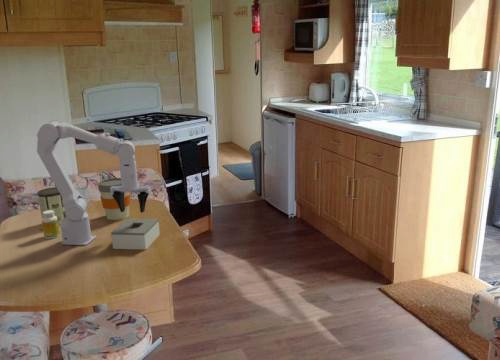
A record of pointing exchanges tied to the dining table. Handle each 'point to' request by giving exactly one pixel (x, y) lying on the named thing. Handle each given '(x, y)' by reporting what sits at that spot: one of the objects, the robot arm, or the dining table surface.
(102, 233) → the dining table surface
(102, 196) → the reusable coffee cup
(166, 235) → the dining table surface
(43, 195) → the coffee can
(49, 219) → the supplement bottle
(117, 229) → the box
